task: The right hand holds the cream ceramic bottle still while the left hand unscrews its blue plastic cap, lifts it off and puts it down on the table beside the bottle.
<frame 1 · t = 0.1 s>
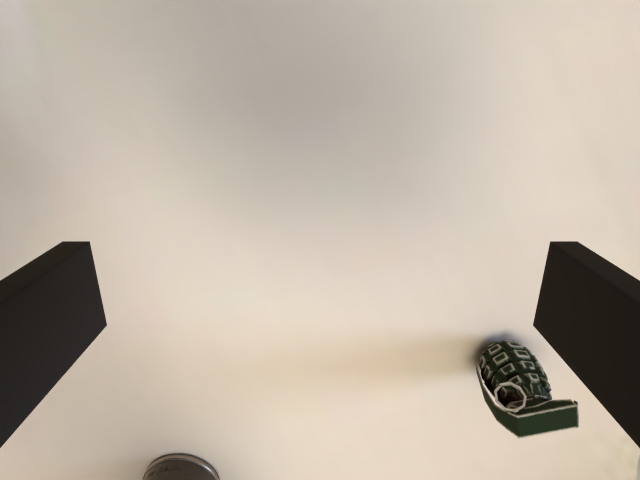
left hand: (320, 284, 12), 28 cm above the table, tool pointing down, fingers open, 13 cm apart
grenade: (495, 352, 46), on the table
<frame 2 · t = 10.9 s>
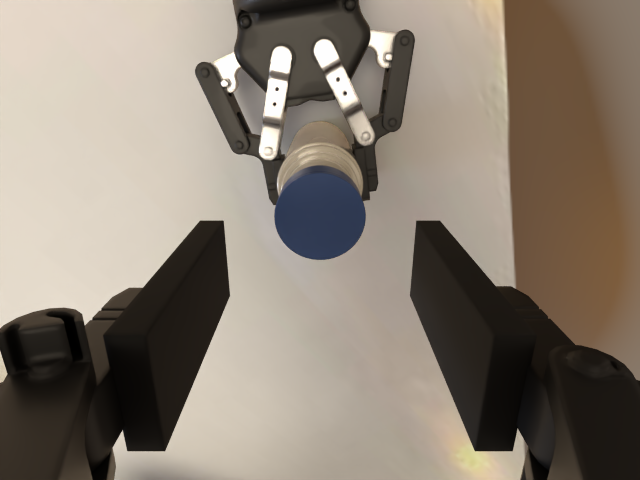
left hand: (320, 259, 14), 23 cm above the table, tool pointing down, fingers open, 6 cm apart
right hand: (325, 202, 30), fingers closed on bottle, 5 cm apart
cap: (320, 216, 19), point 18 cm above the table, screwed on, not yet turned
bottle: (320, 150, 35), on the table, touching right hand
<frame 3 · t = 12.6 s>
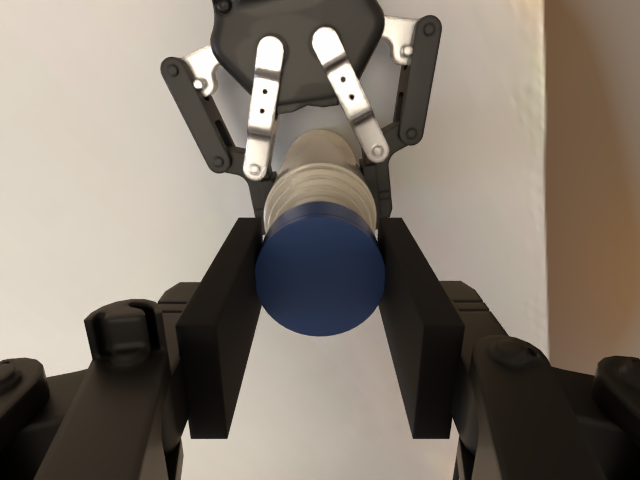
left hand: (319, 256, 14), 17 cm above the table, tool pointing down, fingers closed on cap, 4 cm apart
right hand: (327, 230, 25), fingers closed on bottle, 5 cm apart
cap: (320, 275, 13), point 18 cm above the table, screwed on, not yet turned, touching left hand
bottle: (320, 164, 30), on the table, touching right hand
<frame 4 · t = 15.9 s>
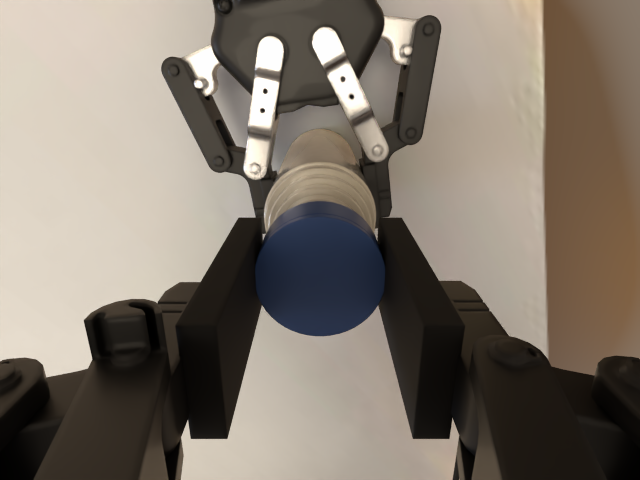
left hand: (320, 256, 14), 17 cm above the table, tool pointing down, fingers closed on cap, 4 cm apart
right hand: (327, 229, 25), fingers closed on bottle, 5 cm apart
cap: (320, 275, 13), point 18 cm above the table, turned 110° so far, risen 0.1 cm, still on its thread, touching left hand
bottle: (320, 164, 30), on the table, touching right hand
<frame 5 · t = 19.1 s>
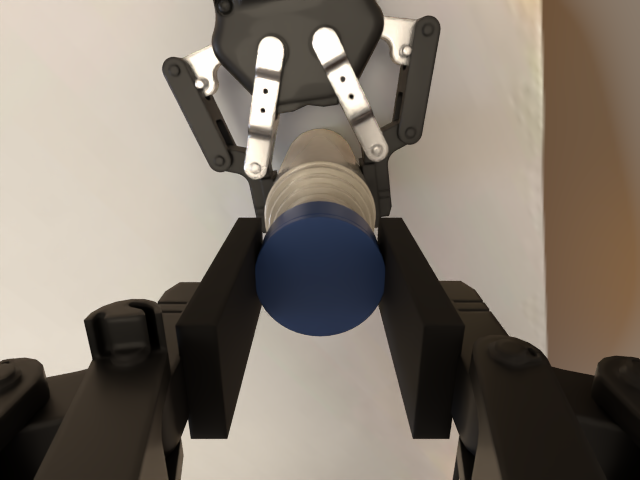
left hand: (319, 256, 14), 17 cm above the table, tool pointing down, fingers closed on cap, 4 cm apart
right hand: (327, 228, 25), fingers closed on bottle, 5 cm apart
cap: (320, 275, 13), point 18 cm above the table, turned 221° so far, risen 0.3 cm, still on its thread, touching left hand
bottle: (320, 163, 30), on the table, touching right hand
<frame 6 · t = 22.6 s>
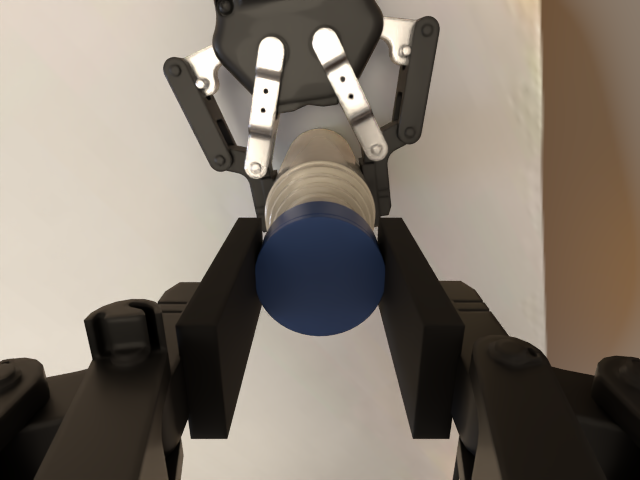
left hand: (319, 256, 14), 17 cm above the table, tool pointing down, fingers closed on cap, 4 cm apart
right hand: (327, 228, 25), fingers closed on bottle, 5 cm apart
cap: (320, 275, 13), point 18 cm above the table, turned 331° so far, risen 0.4 cm, still on its thread, touching left hand
bottle: (320, 163, 30), on the table, touching right hand
when the left hand's fingers open (1 cm above the table, at t = 28.7 s): cap drops 1 cm, point 1 cm above the table.
when the right hand's fingers open (7 cm above the table, at t = 30.0 s): bottle stays where it is, on the table.
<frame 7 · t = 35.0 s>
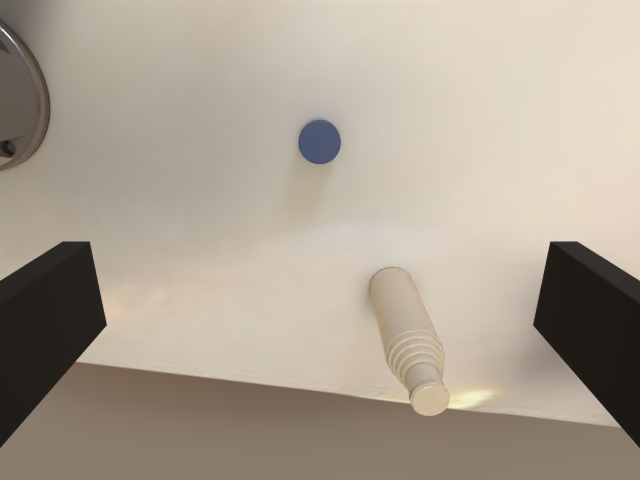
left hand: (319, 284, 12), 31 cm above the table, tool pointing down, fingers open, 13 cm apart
cap: (319, 142, 40), point 1 cm above the table, off its thread
bottle: (391, 286, 47), on the table
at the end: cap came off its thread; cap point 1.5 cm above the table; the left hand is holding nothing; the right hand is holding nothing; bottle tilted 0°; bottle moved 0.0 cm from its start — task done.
